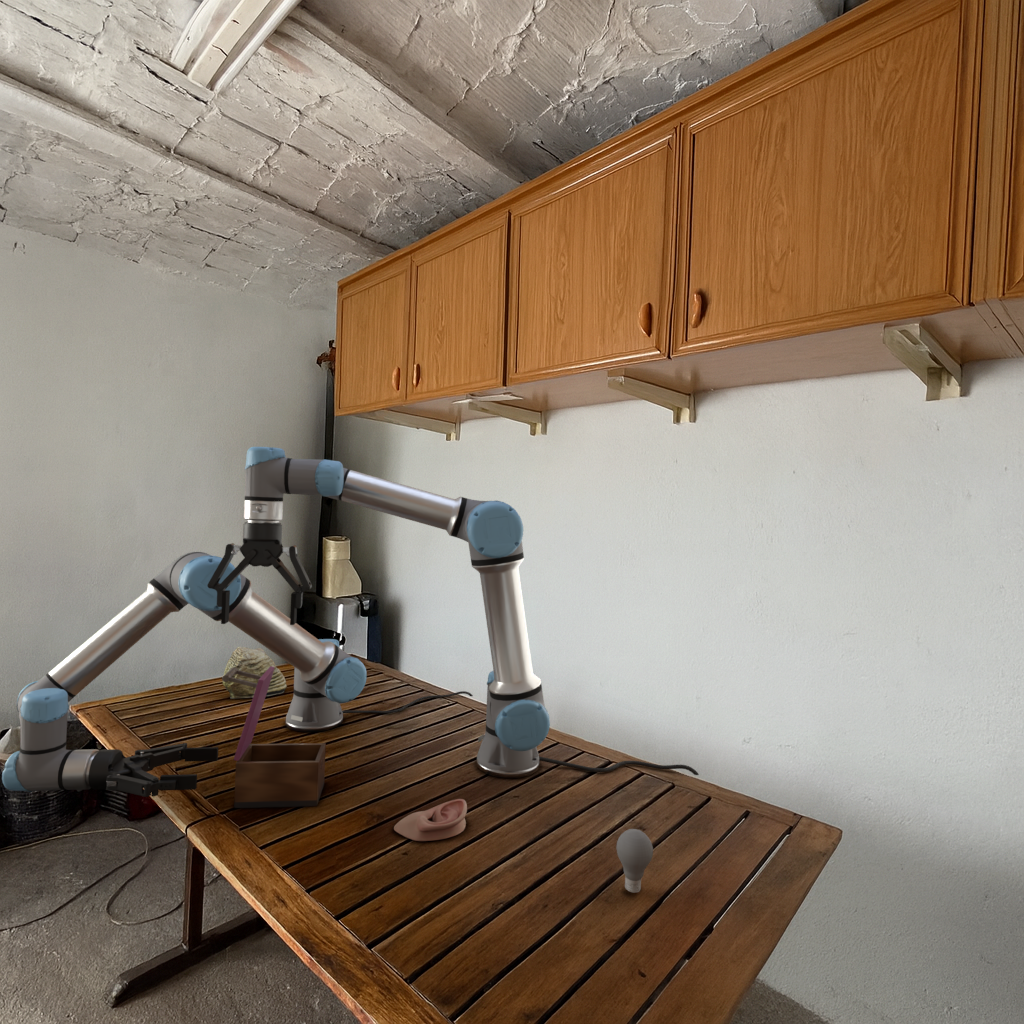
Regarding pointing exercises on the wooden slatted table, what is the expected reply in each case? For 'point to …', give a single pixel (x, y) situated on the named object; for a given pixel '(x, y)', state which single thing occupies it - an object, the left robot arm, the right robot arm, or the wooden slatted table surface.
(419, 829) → the anatomical model
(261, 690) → the lid
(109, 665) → the left robot arm
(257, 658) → the fossil
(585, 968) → the wooden slatted table surface
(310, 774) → the chest
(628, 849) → the light bulb
